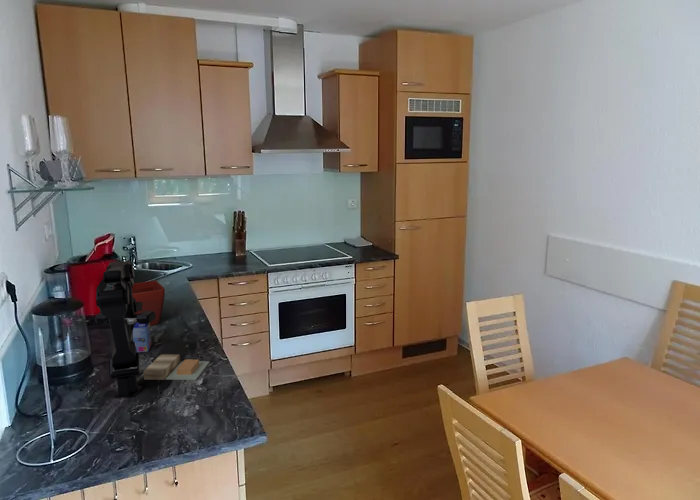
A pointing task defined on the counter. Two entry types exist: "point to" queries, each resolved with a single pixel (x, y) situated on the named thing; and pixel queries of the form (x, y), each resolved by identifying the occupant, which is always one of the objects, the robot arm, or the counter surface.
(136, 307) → the robot arm
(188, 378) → the sage mat
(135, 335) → the ink cartridge box
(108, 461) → the counter surface
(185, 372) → the orange block
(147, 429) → the counter surface
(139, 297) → the plant pot
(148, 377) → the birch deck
